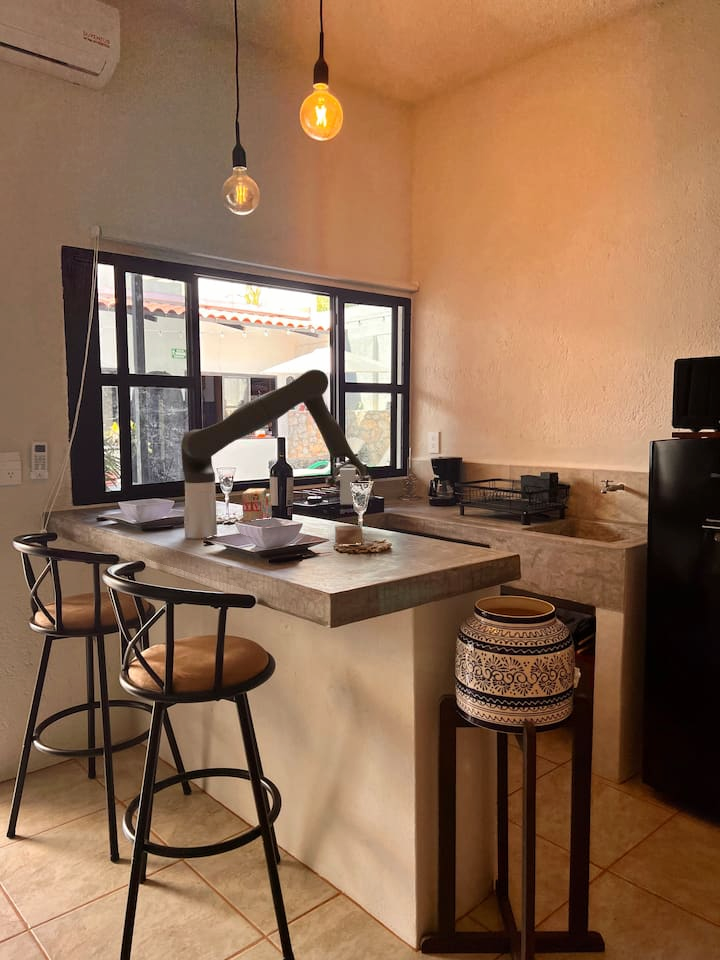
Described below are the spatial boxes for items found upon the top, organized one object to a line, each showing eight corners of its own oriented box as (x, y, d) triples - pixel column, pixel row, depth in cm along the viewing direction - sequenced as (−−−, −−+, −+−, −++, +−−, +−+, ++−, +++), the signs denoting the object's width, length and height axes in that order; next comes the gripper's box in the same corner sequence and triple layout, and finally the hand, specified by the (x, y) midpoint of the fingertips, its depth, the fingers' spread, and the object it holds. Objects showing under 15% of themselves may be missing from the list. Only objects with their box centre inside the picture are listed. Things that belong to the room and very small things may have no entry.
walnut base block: (337, 547, 196) (337, 530, 196) (335, 542, 203) (335, 525, 202) (362, 546, 197) (361, 529, 196) (358, 541, 204) (358, 525, 203)
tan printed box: (254, 519, 248) (253, 485, 247) (271, 518, 248) (270, 485, 247) (243, 529, 227) (241, 492, 226) (261, 529, 227) (260, 492, 225)
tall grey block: (340, 504, 197) (339, 469, 196) (340, 502, 201) (340, 468, 200) (355, 504, 197) (355, 469, 196) (355, 502, 201) (355, 468, 200)
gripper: (325, 465, 212) (322, 470, 195) (371, 465, 212) (372, 470, 195) (325, 489, 213) (323, 497, 196) (371, 489, 213) (373, 496, 196)
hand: (347, 483), depth 196 cm, fingers closed on tall grey block, 4 cm apart
